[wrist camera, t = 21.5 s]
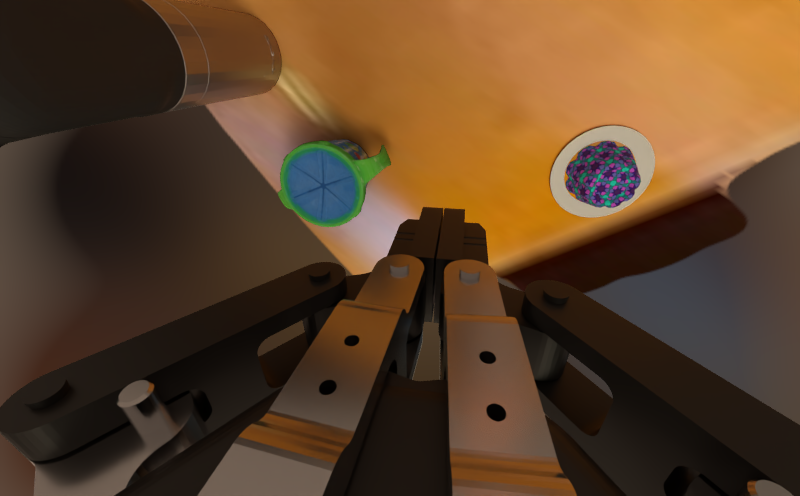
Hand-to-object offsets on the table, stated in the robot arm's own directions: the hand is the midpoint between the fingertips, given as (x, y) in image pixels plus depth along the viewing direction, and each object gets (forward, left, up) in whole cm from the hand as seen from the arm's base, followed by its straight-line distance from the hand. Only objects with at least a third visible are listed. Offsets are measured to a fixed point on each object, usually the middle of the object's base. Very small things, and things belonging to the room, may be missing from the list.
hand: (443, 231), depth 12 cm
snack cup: (-16, -8, -35) cm, 39 cm away
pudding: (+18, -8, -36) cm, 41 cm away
